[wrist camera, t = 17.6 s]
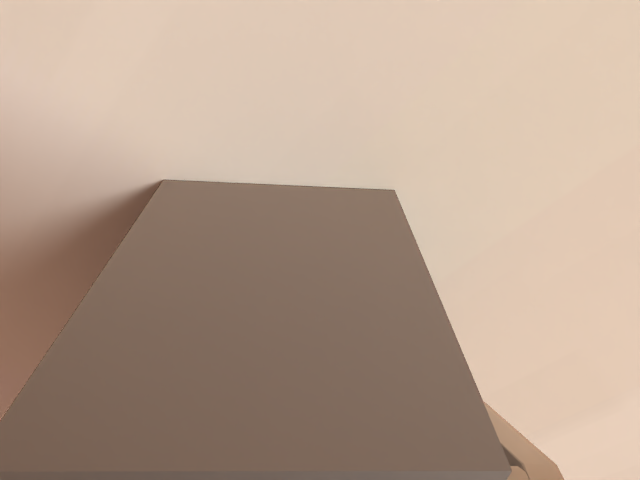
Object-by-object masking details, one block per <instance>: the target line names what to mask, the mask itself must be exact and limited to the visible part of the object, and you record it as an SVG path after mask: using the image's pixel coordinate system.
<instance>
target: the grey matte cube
mask: <svg viewBox="0 0 640 480" xmlns="http://www.w3.org/2000/svg"><path fill="white" fill-rule="evenodd" d="M511 472H512V469H511V467H510V465H509V462H508V460H507V457H506V455H505V453H504V450H503V448H502V445H501V443H500V441H499V438H498V436H497V434H496V431H495V429H494V426H493V424H492V422H491V419H490V417H489V414H488V412H487V410H486V407H485V405H484V403H483V400H482V398H481V395H480V393H479V391H478V388H477V386H476V383H475V381H474V379H473V376H472V374H471V371H470V369H469V367H468V364H467V362H466V360H465V357H464V355H463V352H462V350H461V348H460V345H459V343H458V340H457V338H456V336H455V333H454V331H453V329H452V326H451V324H450V321H449V319H448V317H447V314H446V312H445V309H444V307H443V305H442V302H441V300H440V298H439V295H438V293H437V290H436V288H435V286H434V283H433V281H432V278H431V276H430V274H429V271H428V269H427V266H426V264H425V262H424V259H423V257H422V255H421V252H420V250H419V247H418V245H417V243H416V240H415V238H414V235H413V233H412V231H411V228H410V226H409V224H408V221H407V219H406V216H405V214H404V212H403V209H402V207H401V204H400V202H399V200H398V197H397V195H396V192H395V190H376V189H354V188H331V187H309V186H287V185H265V184H242V183H220V182H198V181H175V180H163V181H162V183H161V184H160V186H159V187H158V189H157V190H156V192H155V193H154V195H153V196H152V198H151V199H150V200H149V202H148V203H147V205H146V206H145V208H144V209H143V211H142V212H141V214H140V215H139V217H138V218H137V220H136V221H135V223H134V224H133V226H132V227H131V229H130V230H129V232H128V233H127V235H126V236H125V237H124V239H123V240H122V242H121V243H120V245H119V246H118V248H117V249H116V251H115V252H114V254H113V255H112V257H111V258H110V260H109V261H108V263H107V264H106V266H105V267H104V269H103V270H102V272H101V273H100V274H99V276H98V277H97V279H96V280H95V282H94V283H93V285H92V286H91V288H90V289H89V291H88V292H87V294H86V295H85V297H84V298H83V300H82V301H81V303H80V304H79V306H78V307H77V309H76V310H75V311H74V313H73V314H72V316H71V317H70V319H69V320H68V322H67V323H66V325H65V326H64V328H63V329H62V331H61V332H60V334H59V335H58V337H57V338H56V340H55V341H54V343H53V344H52V346H51V347H50V348H49V350H48V351H47V353H46V354H45V356H44V357H43V359H42V360H41V362H40V363H39V365H38V366H37V368H36V369H35V371H34V372H33V374H32V375H31V377H30V378H29V380H28V381H27V383H26V384H25V385H24V387H23V388H22V390H21V391H20V393H19V394H18V396H17V397H16V399H15V400H14V402H13V403H12V405H11V406H10V408H9V409H8V411H7V412H6V414H5V415H4V417H3V418H2V420H1V421H0V480H507V478H508V477H509V475H510V474H511Z"/></svg>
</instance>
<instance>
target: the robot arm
mask: <svg viewBox="0 0 640 480" xmlns="http://www.w3.org/2000/svg"><path fill="white" fill-rule="evenodd" d="M483 403H484V405H485V407H486V410H487V412H488V414H489V417H490V419H491V422H492V424H493V426H494V429H495V431H496V434H497V436H498V438H499V441H500V443H501V445H502V448H503V450H504V453H505V455H506V457H507V460H508V462H509V465H510V467H511V469H512V472H511V474H510V475H509V477H508V478H507V480H564V478H563V476H562V474H561V472H560V470H559V468H558V467H557V465H556V464H555V463H554V462H553V461H552V460H550V459H549V458H548V457H547V456H546V455H545V454H544V453H542V452H541V451H540V450H539V449H538V448H537V447H536V446H534V445H533V444H532V443H531V442H530V441H529V440H528V439H526V438H525V437H524V436H523V435H522V434H521V433H520V432H518V431H517V430H516V429H515V428H514V427H513V426H512V425H510V424H509V423H508V422H507V421H506V420H505V419H504V418H502V417H501V416H500V415H499V414H498V413H497V412H496V411H494V410H493V409H492V408H491V407H490V406H489V405H488V404H486V403H485V402H483Z"/></svg>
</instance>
